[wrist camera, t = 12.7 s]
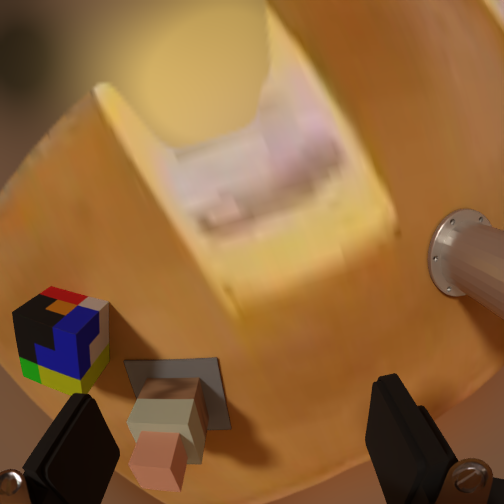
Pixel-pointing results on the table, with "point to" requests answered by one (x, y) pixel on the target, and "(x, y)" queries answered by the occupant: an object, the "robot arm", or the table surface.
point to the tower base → (177, 393)
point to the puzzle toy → (63, 339)
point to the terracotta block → (159, 461)
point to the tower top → (170, 423)
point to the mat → (186, 369)
